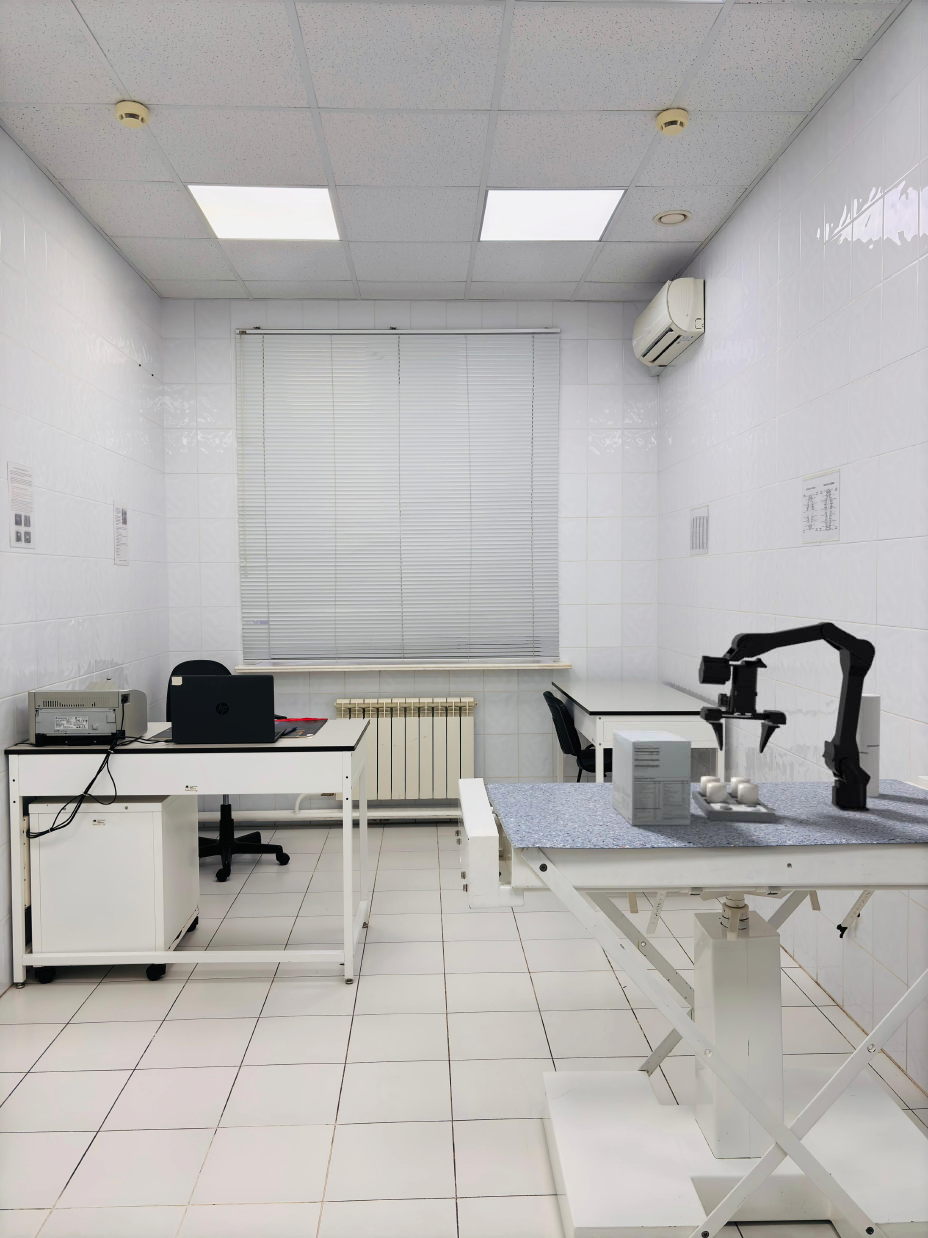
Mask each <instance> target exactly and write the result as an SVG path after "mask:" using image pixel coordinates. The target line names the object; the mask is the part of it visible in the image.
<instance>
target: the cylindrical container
mask: <svg viewBox="0 0 928 1238" xmlns="http://www.w3.org/2000/svg"><path fill="white" fill-rule="evenodd" d="M880 739H881V695H880V694H876V693H873V694H872V693H862V698H861V706H860V713H859V720H858V728H857V735H856V741H857V745H858V749H859V755H860V767H861V768H862V769H863V770H864V771H865V772H866V773H867V774H868V775H869V776H870V777H871V778H870V781H869V783H868V785H867V797H868V798H874V797H875V798H876V797H878V796H880V757H881V756H880V755H881V754H880V751H881V750H880V748H881V747H880V746H881V745H880V744H881V741H880Z"/></svg>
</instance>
